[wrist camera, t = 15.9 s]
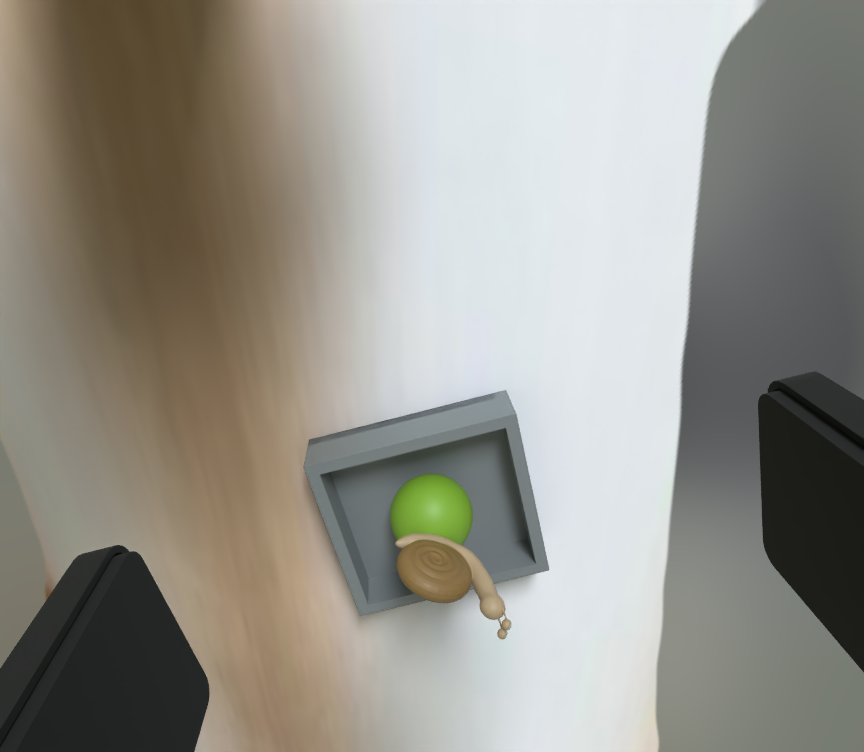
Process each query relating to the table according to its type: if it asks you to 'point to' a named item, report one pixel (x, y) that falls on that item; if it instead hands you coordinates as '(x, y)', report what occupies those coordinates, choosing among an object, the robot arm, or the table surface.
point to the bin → (415, 455)
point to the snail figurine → (440, 545)
